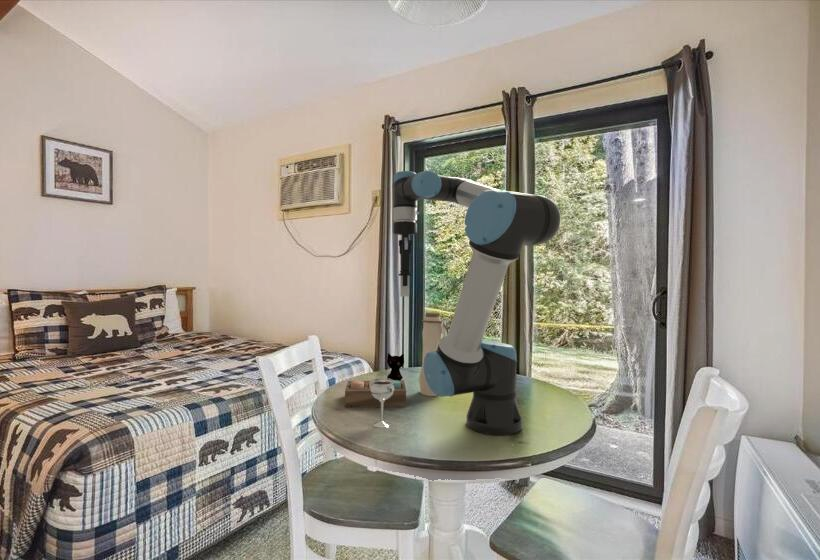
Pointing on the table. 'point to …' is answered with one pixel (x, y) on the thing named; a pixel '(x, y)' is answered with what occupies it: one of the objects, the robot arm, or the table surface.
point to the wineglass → (382, 396)
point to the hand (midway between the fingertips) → (404, 296)
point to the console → (366, 399)
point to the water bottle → (431, 343)
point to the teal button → (397, 384)
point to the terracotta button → (357, 384)
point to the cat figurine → (395, 366)
